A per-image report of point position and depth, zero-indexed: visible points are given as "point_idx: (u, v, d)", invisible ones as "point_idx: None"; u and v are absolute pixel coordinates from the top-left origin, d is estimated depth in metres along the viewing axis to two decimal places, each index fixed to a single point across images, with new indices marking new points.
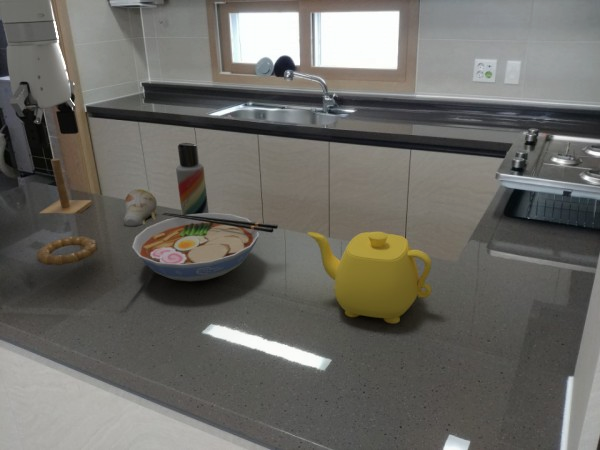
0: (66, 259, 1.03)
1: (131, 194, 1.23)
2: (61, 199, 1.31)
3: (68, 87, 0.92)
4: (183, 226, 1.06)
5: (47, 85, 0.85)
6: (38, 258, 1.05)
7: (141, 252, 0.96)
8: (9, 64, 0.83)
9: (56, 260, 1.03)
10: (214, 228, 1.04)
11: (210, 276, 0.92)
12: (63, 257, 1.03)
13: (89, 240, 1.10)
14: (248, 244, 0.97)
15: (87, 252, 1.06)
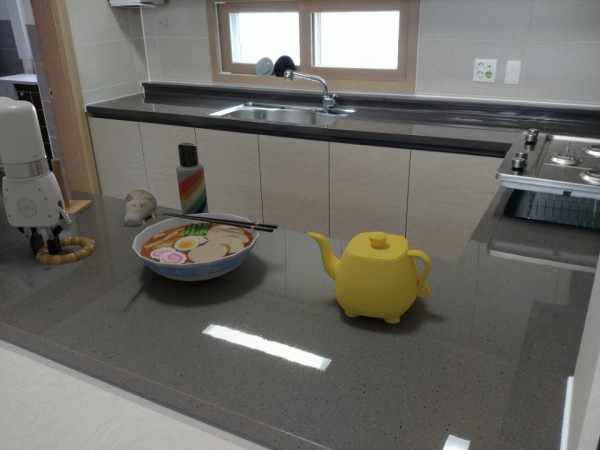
0: (65, 259, 1.03)
1: (131, 194, 1.23)
2: None
3: None
4: (183, 226, 1.06)
5: None
6: (37, 258, 1.05)
7: (141, 252, 0.96)
8: (49, 191, 1.01)
9: (55, 260, 1.03)
10: (214, 228, 1.04)
11: (210, 276, 0.92)
12: (62, 257, 1.03)
13: (88, 240, 1.10)
14: (248, 244, 0.97)
15: (86, 252, 1.06)
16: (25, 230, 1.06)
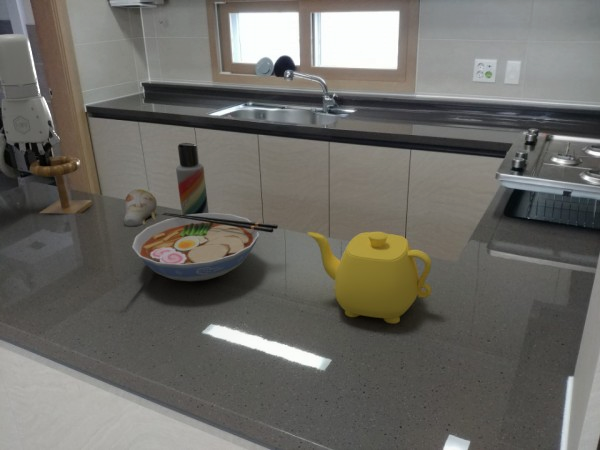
0: (53, 169, 1.24)
1: (131, 194, 1.23)
2: (61, 199, 1.31)
3: None
4: (183, 226, 1.06)
5: None
6: (30, 169, 1.25)
7: (141, 252, 0.96)
8: (40, 110, 1.21)
9: (45, 170, 1.23)
10: (214, 228, 1.04)
11: (210, 276, 0.92)
12: (51, 167, 1.24)
13: (74, 158, 1.30)
14: (248, 244, 0.97)
15: (71, 165, 1.26)
16: (20, 146, 1.26)
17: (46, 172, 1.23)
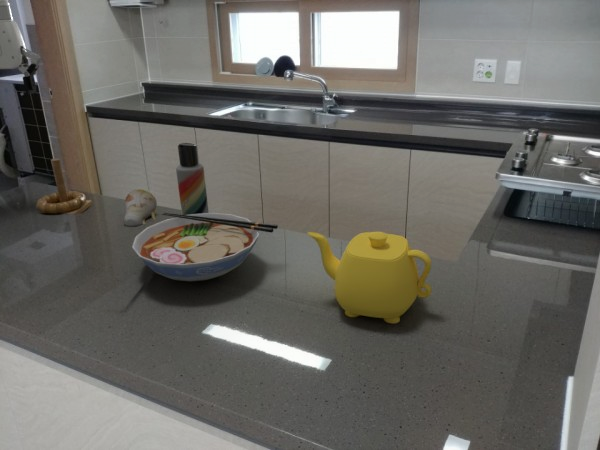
0: (59, 206, 1.27)
1: (131, 194, 1.23)
2: (61, 199, 1.31)
3: None
4: (183, 226, 1.06)
5: None
6: (37, 206, 1.29)
7: (141, 252, 0.96)
8: (12, 34, 1.18)
9: (52, 207, 1.27)
10: (214, 228, 1.04)
11: (210, 276, 0.92)
12: (57, 204, 1.27)
13: (79, 193, 1.34)
14: (248, 244, 0.97)
15: (77, 201, 1.30)
16: None
17: (52, 209, 1.27)
